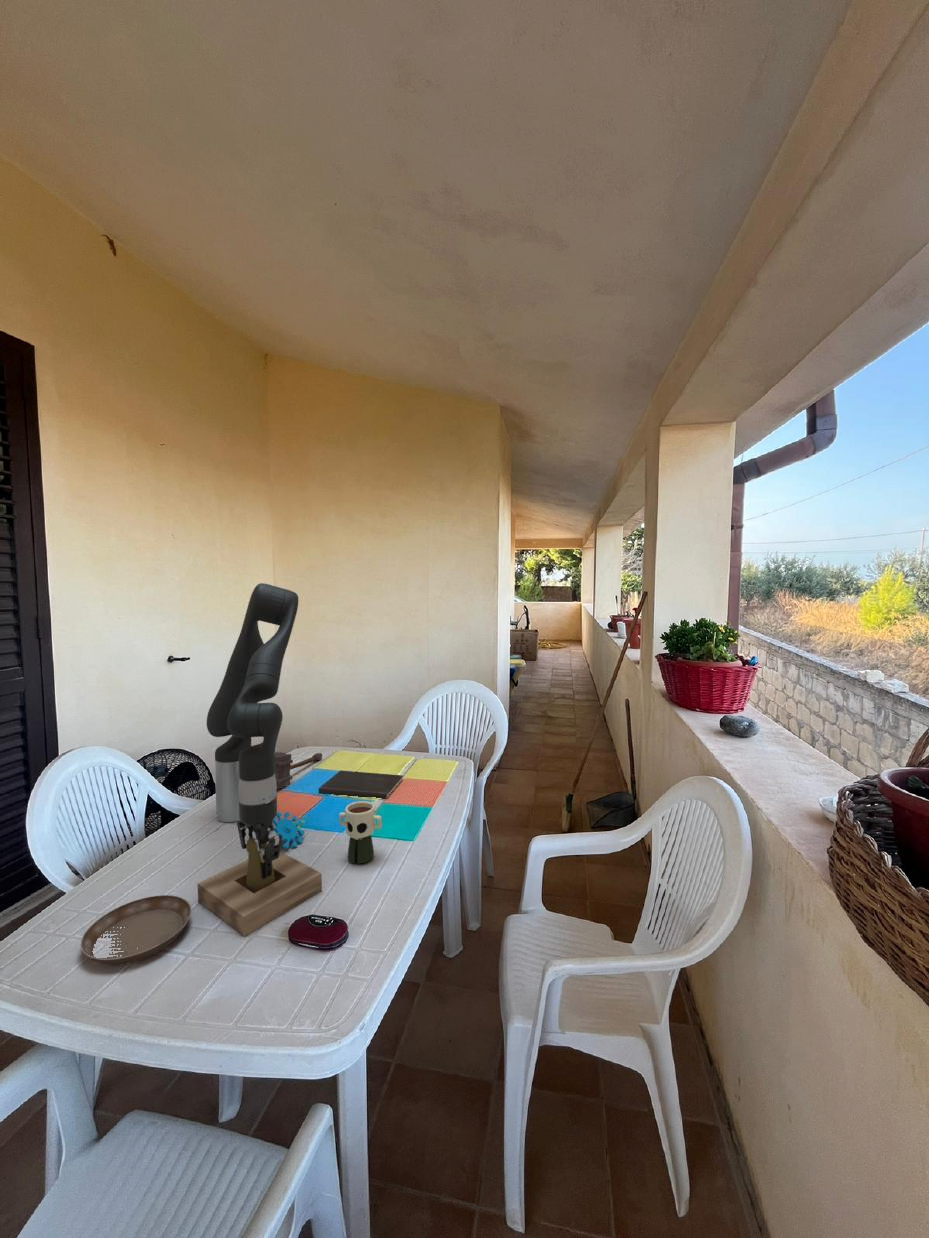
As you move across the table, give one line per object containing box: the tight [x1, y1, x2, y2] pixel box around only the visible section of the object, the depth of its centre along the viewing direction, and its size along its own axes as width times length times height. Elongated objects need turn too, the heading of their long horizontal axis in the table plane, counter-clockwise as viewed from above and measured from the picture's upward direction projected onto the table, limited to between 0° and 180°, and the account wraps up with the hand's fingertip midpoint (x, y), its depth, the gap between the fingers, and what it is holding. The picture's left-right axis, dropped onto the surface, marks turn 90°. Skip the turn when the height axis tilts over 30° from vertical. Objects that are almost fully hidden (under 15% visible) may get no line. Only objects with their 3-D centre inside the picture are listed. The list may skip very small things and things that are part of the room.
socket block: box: [196, 850, 323, 937], centre depth 110 cm, size 18×18×4 cm
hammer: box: [275, 752, 323, 790], centre depth 180 cm, size 7×33×10 cm, turn 166°
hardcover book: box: [318, 770, 404, 800], centre depth 168 cm, size 16×23×2 cm
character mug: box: [338, 800, 383, 864], centre depth 124 cm, size 11×7×13 cm, turn 79°
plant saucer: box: [80, 894, 192, 966], centre depth 97 cm, size 18×18×3 cm
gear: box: [272, 811, 305, 850], centre depth 133 cm, size 11×6×10 cm
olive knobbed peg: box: [245, 837, 275, 893], centre depth 109 cm, size 6×6×11 cm
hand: (260, 872), depth 109 cm, fingers closed on olive knobbed peg, 4 cm apart
